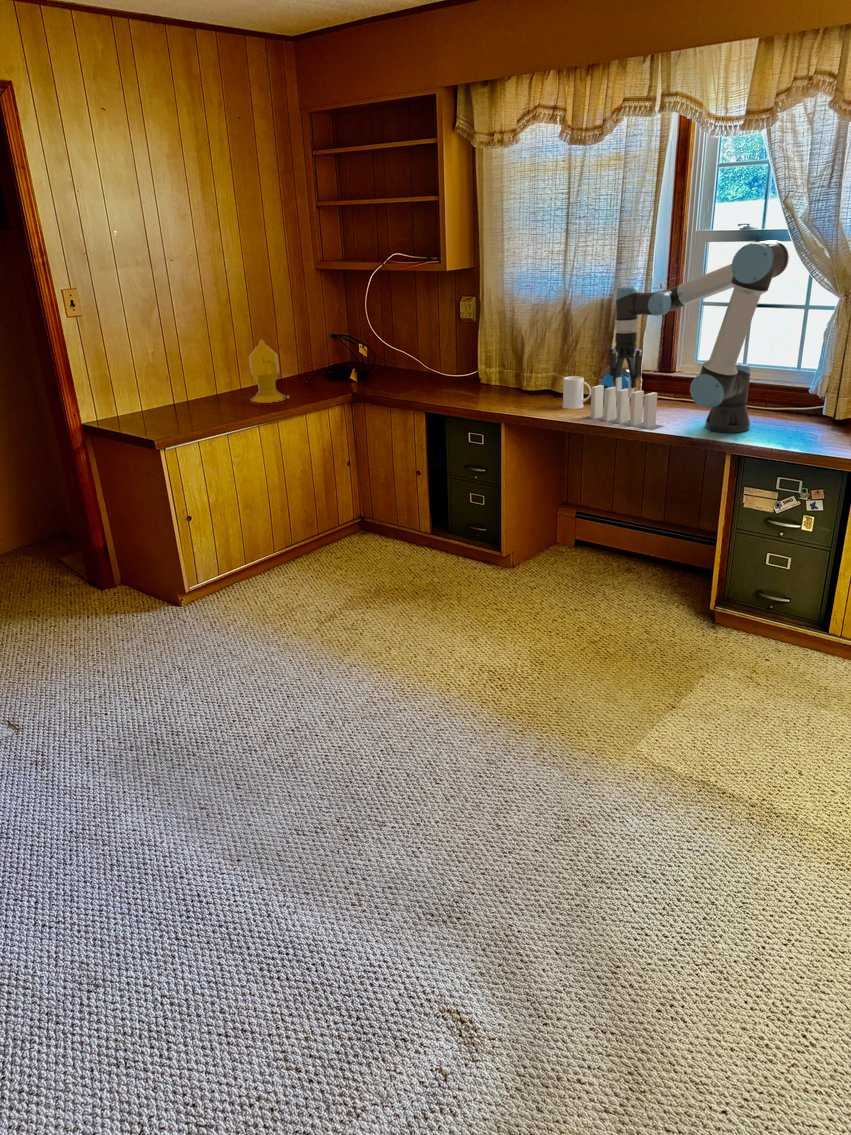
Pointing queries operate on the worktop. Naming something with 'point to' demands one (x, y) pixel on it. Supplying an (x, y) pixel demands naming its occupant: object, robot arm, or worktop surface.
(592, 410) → the domino
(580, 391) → the mug
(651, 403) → the domino
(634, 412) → the domino
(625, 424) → the mat
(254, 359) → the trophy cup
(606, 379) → the alarm clock
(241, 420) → the worktop surface
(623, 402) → the domino
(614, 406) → the domino
